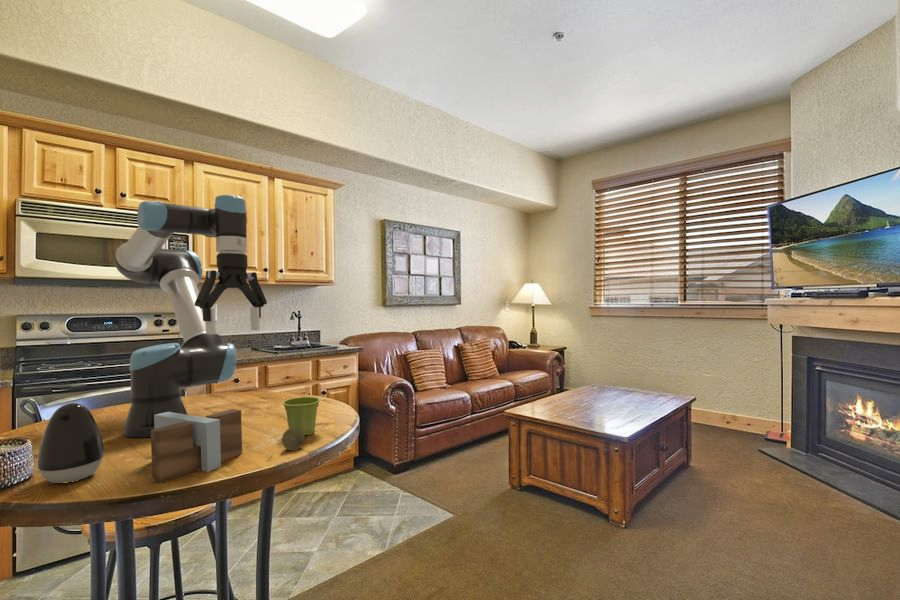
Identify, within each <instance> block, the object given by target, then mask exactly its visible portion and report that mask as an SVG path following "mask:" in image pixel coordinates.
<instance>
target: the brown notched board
mask: <svg viewBox="0 0 900 600" xmlns="http://www.w3.org/2000/svg"><path fill="white" fill-rule="evenodd" d="M205 417H206V418H213V419H220V446H221V462H223V461H226V460H229V459H232V458H234V457H236V456H239V455H242V454H243V436H242V434H243V433H242V427H243V426H242V409H237V408H231V409H227V410H223V411H218V412H215V413H211V414H207V415H206V416H205ZM150 447H151V448H150V450H151V454H150V455H151V481H152V480H153V481H152V482H154V481H156V482H155V483H157V482H158V484H161V483H162V484H164V483H166V481H167V482H170V481H172V480H174V479H177V478H181V477H182V476H183V477H184V476H186V475H189V474H190V473H194V472H196V471H200V470H201V446H197V445H193V423H189V422H180V423H176V424H172V425H169V426H165V427H161V428H157V429H153V430H151V437H150ZM169 480H170V481H169Z"/></svg>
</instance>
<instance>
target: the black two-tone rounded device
mask: <svg viewBox="0 0 900 600" xmlns="http://www.w3.org/2000/svg"><path fill="white" fill-rule="evenodd" d="M39 445H40V446H39V450H38V451H39V452H38V455H37V469H38V471H39V470H40V474H41V475H42V477H43V479H45V480H46V481H47V482H49V483H52V484H55V483H63V482H72V481H76V480H80V479H83V478H85V479H87V478H89V477H90V476H91V475H94V473H95V472H96V471H97V470H98V469H99V467H100V466H101V463H102V460H103V458H104V456H105V447H104V443H103V439H102V434H101V431H100V429H99V426H98V424H97V422H96V419H95V417H94V416H93V414H92V413H91V411H90V410H89V409H88V408H87V407H86V406H85V405H83V404H81V403H78V402H69V403H66V404H63V405H62V406H60V407H58V408H57V409H56V410H55V411H54V412H53V414H52V415H51V417H50V418H49V420H48V422H47V425H46V426H45V429H44V432H43V435H42V439H41V441H40V444H39ZM88 476H89V477H88ZM86 477H87V478H86ZM83 480H84V479H83ZM80 481H81V480H80Z"/></svg>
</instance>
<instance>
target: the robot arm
mask: <svg viewBox="0 0 900 600" xmlns="http://www.w3.org/2000/svg"><path fill="white" fill-rule="evenodd" d="M246 205H247V203H246V200H245V198H244V197H241V196H238V195H232V194H222V195H221V194H220V195H216V197H215V199H214V208H207V207H199V206H193V205H192V206H191V205H183V204H176V203H168V202H161V201H152V200H151V201H149V200H148V201H147V200H144V201H141V202H140V203H139V204H138V209H137V215H136V218H137V224H138V227H136V229H135V231H134V232H133V233H132V235H131V236H130V238H129V239H128V240H127V242H124V243H122V244H120V246H118V247H117V248H116V250H115V252H114V253H113V264H114V267H115V268H116V270H117V271H118V272H119V273H120V274H121V275H122V276H124V277H125V278H127V279H129V280H130V281H133V282H137V283H140V284H159V287H160V289H161V290H162V291H163V292H165V293H167V294H168V298H169V301H170V303H171V305H172V309H173V312H174V317H175V319H176V322H177V324H178V325H177V326H178V327H179V330H180V333H181V336H182V339H183V343H182V344H180V343H179V342H171V343H170V342H169V343H163V344H155V345H151V346H147V347H141V348H139V349H137V350H134V351H133V352H132V353H131V355H130V358H129V359H130V361H129V368H128V369H129V373H130V400H131V401H130V408H129V409H128V413H127V416H126V418H125V422H124V425H123V436H124V437H127V438H133V439H134V438H151V430H153V429H155V428H154V415H156V414H160V413H165V412H173V413H179V414H186V415H189V414H188V411H187V409H186V407H185V404H184V401H183V400H182V399H183V398H182V389H186V388H192V387H198V386H206V385H213V384H219V383H224V382H228V381H229V380H231V379H232V378H233V376H234V374H235V371H236V368H237V350H236V347H235V345H234V344H233V343H232V342H230V343H229V342H227V343H225V341H224V339H223V337H222V336H221V335H220V334H219V333H216V313H215V312H216V310H215V308H212V307H214V305H215V303H216V302H217V301H218V300H219V298H220V297H221V295H222V294H223V292H225V290H227V289H238V290H239V291H241V292H242V294H243V295H244V296H245V298H246V299H247V300H248V302H249V303H250V304H251V307H250V308H249V311H250V317H249V318H250V331H261V330H260V319H261V317H262V315H261V314H262V311H261V310H262V308H264V305H267V304H268V301H267V298H266V297H265V294H264V291H263V290H262V288H261V285H260V283H259V281H258V275H257V272H256V271H255V272H254V271H253V272H247V268H248V255H247V254H246V253H247V252H248V242H247V241H248V238H247V232H248V231H247V206H246ZM175 233H176V234H185V235H186V234H189V235H198V236H204V237H206V238H215V249H216V250H215V251H216V253H217V255H216V267H217V271H216V270H215V269H212V270H206V272H205V279H204V282H203V283H202V286H201V288H200V290H199V289H198V284H200V283H199V282H200V281H201V280H202V277H203V268H202V262H201V259H200V257H199V256H198V254H197V253H196V252H194V251H192V250H185V249H181V248H179V249H171V248H170V249H169V248H162V247H163V246H164V245H165V243H166V242H167V241H168V240H169V239H170V238H172V236H173V235H174V234H175ZM217 279H218V281H217V283H216V280H217Z"/></svg>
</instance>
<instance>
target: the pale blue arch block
mask: <svg viewBox="0 0 900 600" xmlns="http://www.w3.org/2000/svg"><path fill="white" fill-rule="evenodd" d="M180 422H189V423H193V445H197V446H201V469H200V470H201V471H203V472H207V473H208V472H211V471H214V470H217V469H219V468H221V467H222V461H221V446H220V419H213V418H206V416H205V417H204V416H198V415H192V414H188V415H186V414H179V413H173V412H165V413H160V414H156V415H154V428H155V429H157V428H161V427H165V426H169V425H172V424H176V423H180Z"/></svg>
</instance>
